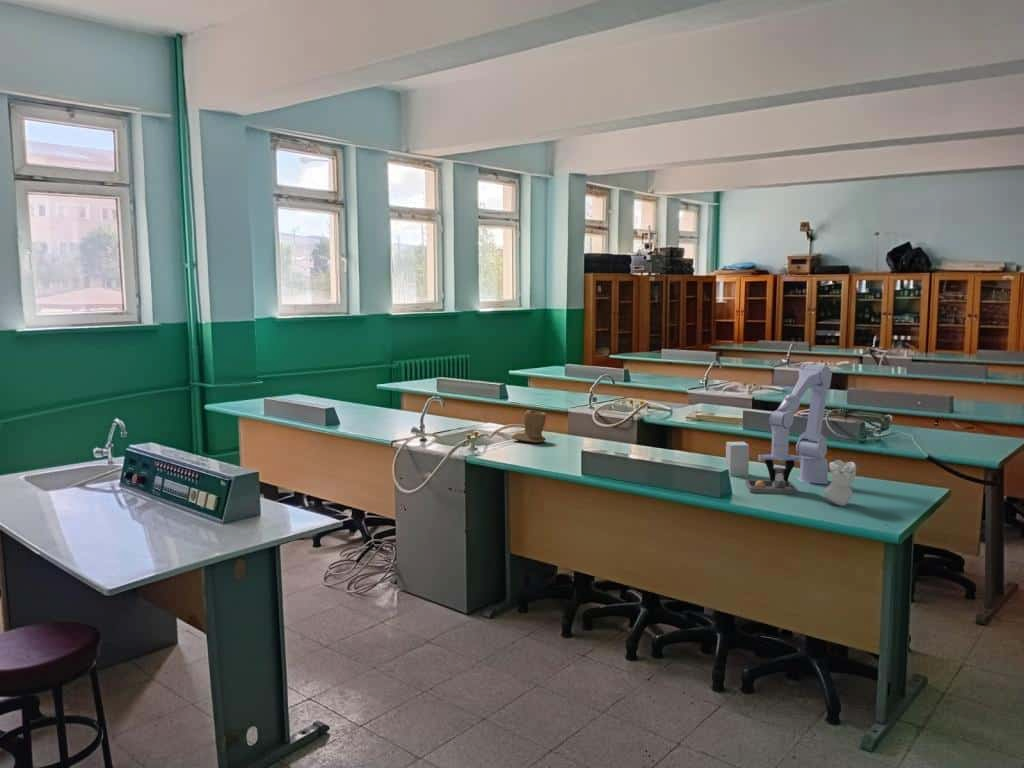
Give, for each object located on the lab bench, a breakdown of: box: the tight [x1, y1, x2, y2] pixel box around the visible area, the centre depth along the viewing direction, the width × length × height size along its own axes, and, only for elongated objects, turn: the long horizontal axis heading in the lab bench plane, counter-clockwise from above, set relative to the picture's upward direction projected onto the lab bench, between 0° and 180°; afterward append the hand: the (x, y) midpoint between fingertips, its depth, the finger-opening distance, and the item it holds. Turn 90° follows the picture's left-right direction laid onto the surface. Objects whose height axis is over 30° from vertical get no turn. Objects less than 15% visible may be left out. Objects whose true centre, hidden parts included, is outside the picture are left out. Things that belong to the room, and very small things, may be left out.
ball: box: [755, 481, 765, 488], centre depth 284 cm, size 4×4×4 cm
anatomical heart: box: [823, 459, 857, 507], centre depth 265 cm, size 10×11×15 cm
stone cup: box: [511, 409, 547, 443], centre depth 375 cm, size 15×12×15 cm
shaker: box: [772, 467, 786, 488], centre depth 286 cm, size 5×5×7 cm
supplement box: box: [725, 441, 750, 477], centre depth 308 cm, size 7×7×13 cm
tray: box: [744, 479, 798, 495], centre depth 286 cm, size 16×12×2 cm
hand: (778, 480), depth 286 cm, fingers open, 4 cm apart
